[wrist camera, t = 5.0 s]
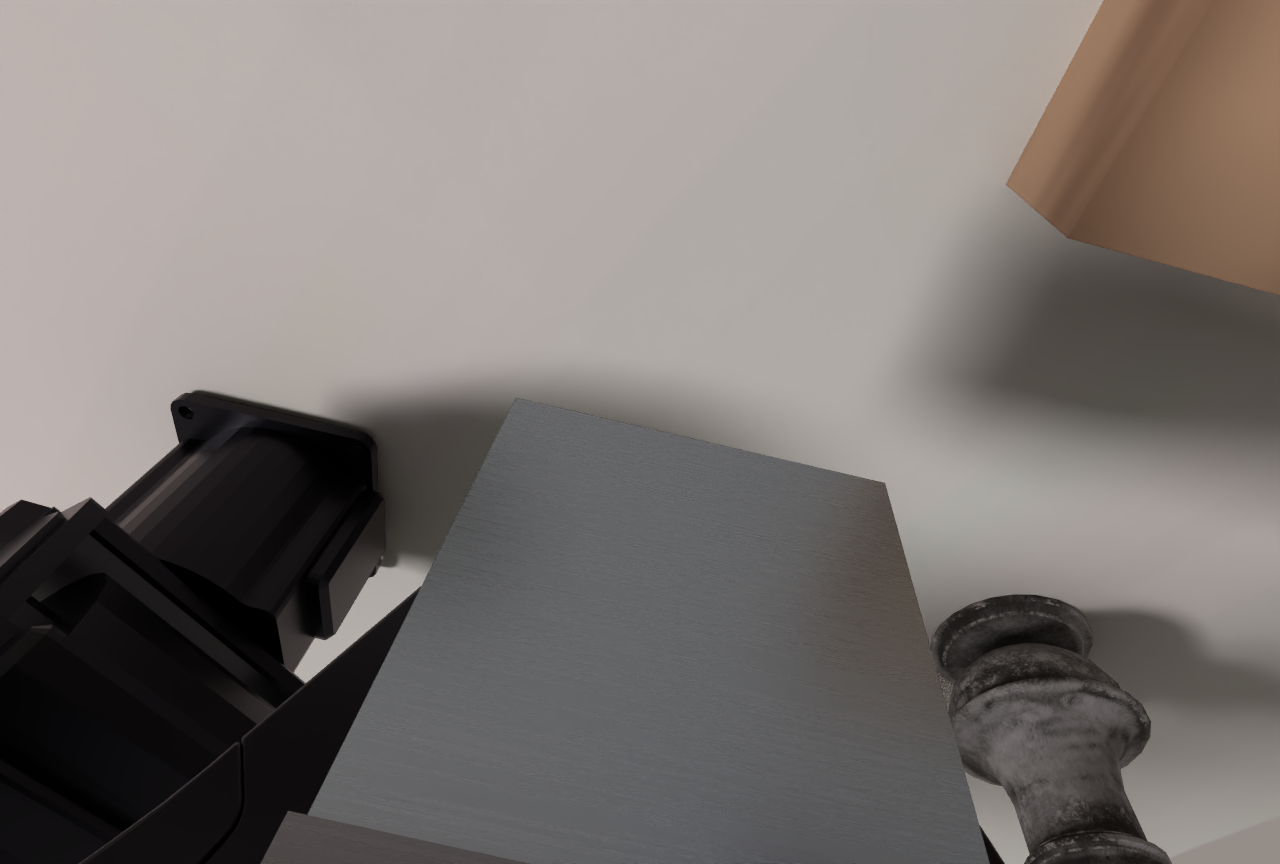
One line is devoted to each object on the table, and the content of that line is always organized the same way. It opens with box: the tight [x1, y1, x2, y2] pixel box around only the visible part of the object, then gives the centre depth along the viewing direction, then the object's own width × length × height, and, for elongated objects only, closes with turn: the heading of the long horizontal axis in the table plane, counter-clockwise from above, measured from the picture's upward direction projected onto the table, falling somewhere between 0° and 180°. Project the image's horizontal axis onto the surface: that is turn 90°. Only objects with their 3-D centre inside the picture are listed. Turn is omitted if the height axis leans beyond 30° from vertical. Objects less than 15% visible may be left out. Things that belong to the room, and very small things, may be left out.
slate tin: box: [261, 398, 990, 864], centre depth 8 cm, size 5×5×6 cm
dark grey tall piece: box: [930, 595, 1172, 864], centre depth 20 cm, size 6×6×12 cm
